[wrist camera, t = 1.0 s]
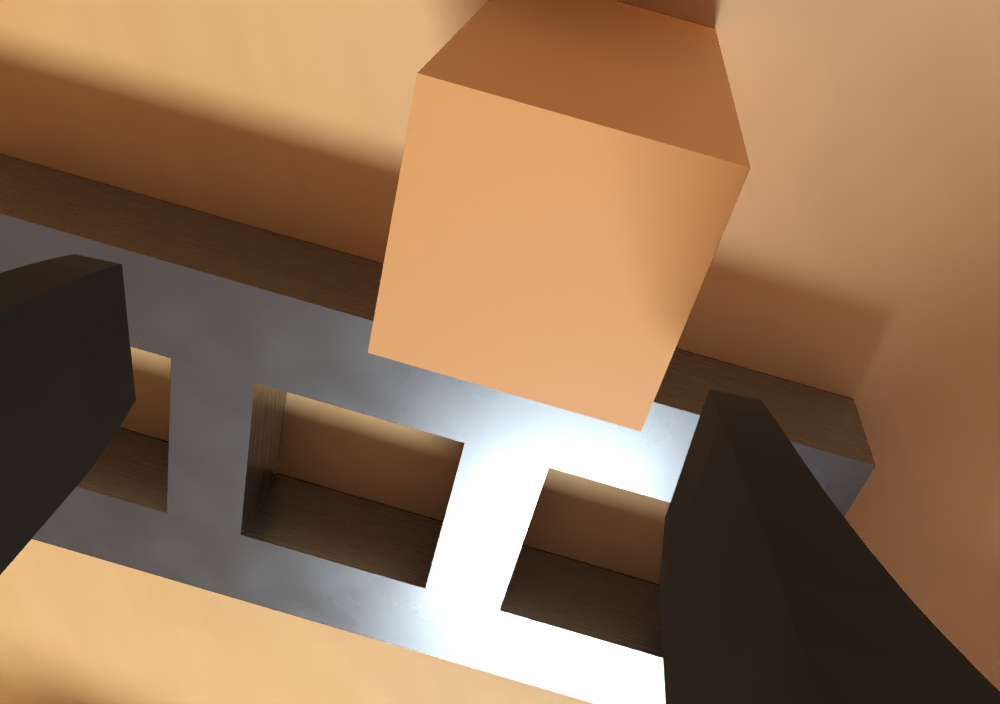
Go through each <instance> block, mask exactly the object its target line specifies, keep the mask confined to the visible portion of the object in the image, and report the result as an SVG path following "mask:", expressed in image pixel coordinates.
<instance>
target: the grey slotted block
mask: <svg viewBox="0 0 1000 704" xmlns="http://www.w3.org/2000/svg"><path fill="white" fill-rule="evenodd" d="M72 254H77V255H81V256H86V257H91V258H96V259H100V260H105V261H110V262H114V263H119V264H122V269H123V279H124V289H125V299H126V309H127V319H128V329H129V339H130V346H131V347H134V348H138V349H141V350H145V351H148V352H152V353H155V354H159V355H162V356H165V357H169V358H171V381H170V417H169V442H166V441H162V440H159V439H155V438H152V437H148V436H145V435H142V434H138V433H135V432H131V431H128V430H124V429H121V428H118V430H117V431H116V433H115V435H114V436H113V438H112V439H111V441H110V442H109V444H108V445H107V447H106V448H105V450H104V451H103V453H102V454H101V456H100V457H99V459H98V460H97V462H96V463H95V465H94V466H93V467H92V468H91V470H90V471H89V472H88V473H87V474H86V476H85V477H84V478H83V479H82V481H81V482H80V483H79V484H78V485H77V486H76V488H75V489H74V490H73V491H72V492H71V493H70V495H69V496H68V497H67V498H66V499H65V501H64V502H63V503H62V504H61V505H60V506H59V508H58V509H57V510H56V511H55V512H54V513H53V515H52V516H51V517H50V518H49V519H48V520H47V522H46V523H45V524H44V525H43V526H42V527H41V528H40V530H39V531H38V532H37V533H36V534H35V535H34V536H33V538H32V539H34V540H38V541H41V542H45V543H48V544H52V545H55V546H58V547H62V548H65V549H69V550H72V551H75V552H79V553H82V554H86V555H89V556H93V557H96V558H99V559H103V560H106V561H110V562H113V563H116V564H120V565H123V566H127V567H130V568H133V569H137V570H140V571H144V572H147V573H151V574H154V575H157V576H161V577H164V578H168V579H171V580H174V581H178V582H181V583H185V584H188V585H192V586H195V587H198V588H202V589H205V590H209V591H212V592H215V593H219V594H222V595H226V596H229V597H232V598H236V599H239V600H243V601H246V602H250V603H253V604H256V605H260V606H263V607H267V608H270V609H273V610H277V611H280V612H284V613H287V614H291V615H294V616H297V617H301V618H304V619H308V620H311V621H314V622H318V623H321V624H325V625H328V626H331V627H335V628H338V629H342V630H345V631H349V632H352V633H355V634H359V635H362V636H366V637H369V638H372V639H376V640H379V641H383V642H386V643H390V644H393V645H396V646H400V647H403V648H407V649H410V650H413V651H417V652H420V653H424V654H427V655H430V656H434V657H437V658H441V659H444V660H448V661H451V662H454V663H458V664H461V665H465V666H468V667H471V668H475V669H478V670H482V671H485V672H489V673H492V674H495V675H499V676H502V677H506V678H509V679H512V680H516V681H519V682H523V683H526V684H530V685H533V686H536V687H540V688H543V689H547V690H550V691H553V692H557V693H560V694H564V695H567V696H570V697H574V698H577V699H581V700H584V701H588V702H591V703H594V704H666V702H665V684H664V667H663V648H662V629H661V609H660V585H657V584H654V583H650V582H647V581H643V580H640V579H637V578H633V577H630V576H626V575H623V574H619V573H616V572H612V571H609V570H606V569H602V568H599V567H595V566H592V565H588V564H585V563H582V562H578V561H575V560H571V559H568V558H564V557H561V556H557V555H554V554H551V553H547V552H544V551H540V550H537V549H533V548H530V547H527V546H523V545H522V544H523V541H524V538H525V535H526V532H527V530H528V527H529V524H530V521H531V518H532V515H533V512H534V509H535V507H536V504H537V501H538V498H539V495H540V492H541V489H542V486H543V484H544V481H545V478H546V475H547V472H548V469H549V468H552V469H556V470H559V471H562V472H566V473H569V474H573V475H576V476H580V477H583V478H587V479H590V480H594V481H597V482H600V483H604V484H607V485H611V486H614V487H618V488H621V489H625V490H628V491H632V492H635V493H638V494H642V495H645V496H649V497H652V498H656V499H659V500H663V501H666V502H669V503H670V502H671V499H672V496H673V493H674V491H675V488H676V485H677V482H678V479H679V476H680V473H681V470H682V467H683V464H684V461H685V458H686V455H687V452H688V450H689V447H690V444H691V441H692V438H693V435H694V432H695V429H696V426H697V423H698V420H699V417H700V414H701V411H702V409H703V406H704V403H705V400H706V397H707V394H708V391H709V389H712V390H716V391H721V392H726V393H730V394H735V395H740V396H745V397H749V398H754V399H759V400H762V402H763V403H764V404H765V406H766V407H767V409H768V410H769V411H770V413H771V414H772V416H773V417H774V419H775V420H776V421H777V423H778V424H779V426H780V427H781V429H782V430H783V432H784V433H785V435H786V436H787V438H788V439H789V441H790V442H791V444H792V445H793V446H794V448H795V449H796V451H797V452H798V454H799V455H800V457H801V458H802V459H803V461H804V462H805V464H806V465H807V467H808V468H809V470H810V471H811V473H812V474H813V475H814V477H815V478H816V480H817V481H818V482H819V484H820V485H821V487H822V488H823V489H824V491H825V492H826V494H827V495H828V496H829V498H830V499H831V500H832V502H833V503H834V504H835V506H836V507H837V509H838V510H839V511H840V513H841V514H842V515H843V517H844V516H845V514H846V512H847V511H848V509H849V508H850V506H851V504H852V503H853V501H854V499H855V498H856V496H857V495H858V493H859V491H860V490H861V488H862V487H863V485H864V483H865V482H866V480H867V479H868V477H869V475H870V474H871V472H872V471H873V469H874V467H875V463H874V460H873V457H872V454H871V451H870V448H869V445H868V442H867V439H866V436H865V433H864V430H863V427H862V423H861V420H860V417H859V414H858V411H857V408H856V405H855V402H854V399H850V398H847V397H843V396H840V395H837V394H833V393H830V392H826V391H823V390H819V389H816V388H812V387H809V386H805V385H802V384H798V383H795V382H791V381H788V380H784V379H781V378H777V377H774V376H770V375H767V374H763V373H760V372H756V371H753V370H750V369H746V368H743V367H739V366H736V365H732V364H729V363H725V362H722V361H718V360H715V359H711V358H708V357H704V356H701V355H697V354H694V353H690V352H687V351H683V350H680V349H676V348H675V351H674V353H673V356H672V358H671V361H670V363H669V365H668V368H667V370H666V373H665V375H664V377H663V380H662V382H661V385H660V387H659V390H658V392H657V394H656V397H655V399H654V402H653V404H652V406H651V409H650V411H649V414H648V416H647V419H646V421H645V423H644V426H643V428H642V431H641V432H640V431H637V430H634V429H630V428H627V427H623V426H620V425H616V424H613V423H609V422H606V421H602V420H599V419H595V418H592V417H588V416H585V415H582V414H578V413H575V412H571V411H568V410H564V409H561V408H557V407H554V406H550V405H547V404H543V403H540V402H537V401H533V400H530V399H526V398H523V397H519V396H516V395H512V394H509V393H505V392H502V391H498V390H495V389H491V388H488V387H485V386H481V385H478V384H474V383H471V382H467V381H464V380H460V379H457V378H453V377H450V376H446V375H443V374H440V373H436V372H433V371H429V370H426V369H422V368H419V367H415V366H412V365H408V364H405V363H401V362H398V361H395V360H391V359H388V358H384V357H381V356H377V355H374V354H370V353H368V348H369V343H370V337H371V331H372V326H373V320H374V315H375V309H376V303H377V298H378V292H379V287H380V281H381V275H382V270H383V264H381V263H377V262H374V261H370V260H367V259H363V258H360V257H356V256H353V255H349V254H346V253H342V252H339V251H335V250H332V249H328V248H325V247H322V246H318V245H315V244H311V243H308V242H304V241H301V240H297V239H294V238H290V237H287V236H283V235H280V234H276V233H273V232H269V231H266V230H262V229H259V228H255V227H252V226H248V225H245V224H242V223H238V222H235V221H231V220H228V219H224V218H221V217H217V216H214V215H210V214H207V213H203V212H200V211H196V210H193V209H189V208H186V207H182V206H179V205H175V204H172V203H168V202H165V201H161V200H158V199H155V198H151V197H148V196H144V195H141V194H137V193H134V192H130V191H127V190H123V189H120V188H116V187H113V186H109V185H106V184H102V183H99V182H95V181H92V180H88V179H85V178H81V177H78V176H74V175H71V174H68V173H64V172H61V171H57V170H54V169H50V168H47V167H43V166H40V165H36V164H33V163H29V162H26V161H22V160H19V159H15V158H12V157H8V156H5V155H1V154H0V273H1V272H5V271H8V270H11V269H15V268H18V267H22V266H25V265H29V264H33V263H36V262H40V261H44V260H48V259H52V258H57V257H62V256H67V255H72ZM286 392H290V393H293V394H297V395H300V396H304V397H307V398H310V399H314V400H317V401H321V402H324V403H328V404H331V405H335V406H338V407H342V408H345V409H348V410H352V411H355V412H359V413H362V414H366V415H369V416H373V417H376V418H380V419H383V420H386V421H390V422H393V423H397V424H400V425H404V426H407V427H411V428H414V429H417V430H421V431H424V432H428V433H431V434H435V435H438V436H442V437H445V438H449V439H452V440H455V441H459V442H462V443H465V444H464V448H463V451H462V455H461V459H460V462H459V466H458V470H457V473H456V477H455V481H454V484H453V488H452V492H451V496H450V499H449V503H448V507H447V510H446V514H445V518H444V521H443V522H441V521H437V520H434V519H430V518H427V517H423V516H420V515H417V514H413V513H410V512H406V511H403V510H399V509H396V508H392V507H389V506H386V505H382V504H379V503H375V502H372V501H368V500H365V499H362V498H358V497H355V496H351V495H348V494H344V493H341V492H337V491H334V490H331V489H327V488H324V487H320V486H317V485H313V484H310V483H307V482H303V481H300V480H296V479H293V478H289V477H286V476H282V475H279V474H277V467H278V459H279V450H280V442H281V434H282V425H283V417H284V408H285V400H286Z"/></svg>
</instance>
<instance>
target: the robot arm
mask: <svg viewBox="0 0 1000 704" xmlns="http://www.w3.org/2000/svg"><path fill="white" fill-rule="evenodd" d="M135 400H136V399H135V389H134V379H133V369H132V359H131V349H130V339H129V329H128V319H127V309H126V299H125V289H124V279H123V269H122V264H119V263H114V262H110V261H105V260H100V259H96V258H91V257H86V256H81V255H77V254H72V255H67V256H62V257H57V258H52V259H48V260H44V261H40V262H36V263H33V264H29V265H25V266H22V267H18V268H15V269H11V270H8V271H5V272H1V273H0V574H1V573H2V572H3V571H4V570H5V569H6V568H7V566H8V565H9V564H10V563H11V562H12V561H13V559H14V558H15V557H16V556H17V555H18V554H19V553H20V551H21V550H22V549H23V548H24V547H25V546H26V545H27V543H28V542H29V541H30V540H31V539H32V538H33V536H34V535H35V534H36V533H37V532H38V531H39V530H40V528H41V527H42V526H43V525H44V524H45V523H46V522H47V520H48V519H49V518H50V517H51V516H52V515H53V513H54V512H55V511H56V510H57V509H58V508H59V506H60V505H61V504H62V503H63V502H64V501H65V499H66V498H67V497H68V496H69V495H70V493H71V492H72V491H73V490H74V489H75V488H76V486H77V485H78V484H79V483H80V482H81V481H82V479H83V478H84V477H85V476H86V474H87V473H88V472H89V471H90V470H91V468H92V467H93V466H94V465H95V463H96V462H97V460H98V459H99V457H100V456H101V454H102V453H103V451H104V450H105V448H106V447H107V445H108V444H109V442H110V441H111V439H112V438H113V436H114V435H115V433H116V431H117V430H118V428H119V426H120V425H121V423H122V421H123V420H124V418H125V417H126V415H127V413H128V412H129V410H130V408H131V407H132V405H133V403H134V402H135ZM660 609H661V629H662V648H663V667H664V684H665V702H666V704H1000V691H998V690H997V689H996V688H995V687H994V686H993V685H992V684H991V683H990V682H989V681H988V680H987V679H986V678H985V677H984V676H983V675H982V674H981V673H980V672H979V671H978V670H977V669H976V668H975V667H974V666H973V665H972V664H971V663H970V662H969V661H968V660H967V659H966V657H965V656H964V655H963V654H962V653H961V652H960V651H959V650H958V649H957V648H956V647H955V646H954V645H953V644H952V643H951V642H950V641H949V640H948V639H947V638H946V637H945V636H944V635H943V634H942V633H941V632H940V631H939V630H938V629H937V628H936V627H935V626H934V624H933V623H932V622H931V621H930V620H929V619H928V618H927V617H926V616H925V615H924V613H923V612H922V611H921V610H920V609H919V608H918V607H917V606H916V605H915V604H914V602H913V601H912V600H911V599H910V598H909V597H908V596H907V594H906V593H905V592H904V591H903V590H902V588H901V587H900V586H899V585H898V584H897V582H896V581H895V580H894V579H893V578H892V576H891V575H890V574H889V573H888V572H887V570H886V569H885V568H884V567H883V566H882V565H881V563H880V562H879V561H878V560H877V559H876V557H875V556H874V555H873V554H872V553H871V551H870V550H869V549H868V548H867V546H866V545H865V544H864V542H863V541H862V540H861V539H860V537H859V536H858V535H857V533H856V532H855V531H854V530H853V528H852V527H851V526H850V524H849V523H848V522H847V520H846V519H845V518H844V517H843V515H842V514H841V513H840V511H839V510H838V509H837V507H836V506H835V504H834V503H833V502H832V500H831V499H830V498H829V496H828V495H827V494H826V492H825V491H824V489H823V488H822V487H821V485H820V484H819V482H818V481H817V480H816V478H815V477H814V475H813V474H812V473H811V471H810V470H809V468H808V467H807V465H806V464H805V462H804V461H803V459H802V458H801V457H800V455H799V454H798V452H797V451H796V449H795V448H794V446H793V445H792V444H791V442H790V441H789V439H788V438H787V436H786V435H785V433H784V432H783V430H782V429H781V427H780V426H779V424H778V423H777V421H776V420H775V419H774V417H773V416H772V414H771V413H770V411H769V410H768V409H767V407H766V406H765V404H764V403H763V402H762V400H759V399H754V398H749V397H745V396H740V395H735V394H730V393H726V392H721V391H716V390H712V389H709V391H708V394H707V397H706V400H705V403H704V406H703V409H702V411H701V414H700V417H699V420H698V423H697V426H696V429H695V432H694V435H693V438H692V441H691V444H690V447H689V450H688V452H687V455H686V458H685V461H684V464H683V467H682V470H681V473H680V476H679V479H678V482H677V485H676V488H675V491H674V493H673V496H672V499H671V502H670V505H669V508H668V511H667V514H666V517H665V528H664V540H663V552H662V566H661V581H660Z"/></svg>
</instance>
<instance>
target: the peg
mask: <svg viewBox="0 0 1000 704" xmlns="http://www.w3.org/2000/svg"><path fill="white" fill-rule="evenodd" d="M749 169H750V165H749V161H748V157H747V153H746V149H745V145H744V141H743V137H742V133H741V129H740V125H739V121H738V117H737V113H736V109H735V105H734V101H733V97H732V93H731V90H730V86H729V82H728V78H727V74H726V70H725V66H724V62H723V58H722V54H721V50H720V46H719V42H718V38H717V34H716V30H715V29H714V28H711V27H707V26H704V25H700V24H697V23H693V22H689V21H686V20H682V19H679V18H675V17H672V16H668V15H665V14H661V13H658V12H654V11H651V10H647V9H643V8H640V7H636V6H633V5H629V4H626V3H622V2H619V1H615V0H489V1H488V2H487V3H486V4H485V5H484V6H483V7H482V8H481V9H480V10H479V11H478V12H477V13H476V14H475V15H474V16H473V17H472V18H471V19H470V20H469V21H468V22H467V23H466V24H465V25H464V26H463V27H462V28H461V29H460V30H459V31H458V32H457V33H456V34H455V35H454V37H453V38H452V39H451V40H450V41H449V42H448V43H447V44H446V45H445V46H444V47H443V48H442V49H441V50H440V51H439V52H438V53H437V54H436V55H435V56H434V57H433V58H432V59H431V60H430V61H429V62H428V63H427V64H426V65H425V66H424V67H423V68H422V69H421V70H420V71H419V72H418V74H417V79H416V85H415V90H414V96H413V102H412V107H411V113H410V118H409V124H408V130H407V135H406V141H405V146H404V152H403V158H402V163H401V169H400V174H399V180H398V186H397V191H396V197H395V202H394V208H393V214H392V219H391V225H390V230H389V236H388V242H387V247H386V253H385V259H384V264H383V270H382V275H381V281H380V287H379V292H378V298H377V303H376V309H375V315H374V320H373V326H372V331H371V337H370V343H369V348H368V353H370V354H374V355H377V356H381V357H384V358H388V359H391V360H395V361H398V362H401V363H405V364H408V365H412V366H415V367H419V368H422V369H426V370H429V371H433V372H436V373H440V374H443V375H446V376H450V377H453V378H457V379H460V380H464V381H467V382H471V383H474V384H478V385H481V386H485V387H488V388H491V389H495V390H498V391H502V392H505V393H509V394H512V395H516V396H519V397H523V398H526V399H530V400H533V401H537V402H540V403H543V404H547V405H550V406H554V407H557V408H561V409H564V410H568V411H571V412H575V413H578V414H582V415H585V416H588V417H592V418H595V419H599V420H602V421H606V422H609V423H613V424H616V425H620V426H623V427H627V428H630V429H634V430H637V431H640V432H641V431H642V428H643V426H644V423H645V421H646V419H647V416H648V414H649V411H650V409H651V406H652V404H653V402H654V399H655V397H656V394H657V392H658V390H659V387H660V385H661V382H662V380H663V377H664V375H665V373H666V370H667V368H668V365H669V363H670V361H671V358H672V356H673V353H674V351H675V348H676V346H677V344H678V341H679V339H680V336H681V334H682V331H683V329H684V327H685V324H686V322H687V319H688V317H689V315H690V312H691V310H692V307H693V305H694V302H695V300H696V298H697V295H698V293H699V290H700V288H701V285H702V283H703V281H704V278H705V276H706V273H707V271H708V269H709V266H710V264H711V261H712V259H713V256H714V254H715V252H716V249H717V247H718V244H719V242H720V239H721V237H722V235H723V232H724V230H725V227H726V225H727V223H728V220H729V218H730V215H731V213H732V210H733V208H734V206H735V203H736V201H737V198H738V196H739V194H740V191H741V189H742V186H743V184H744V181H745V179H746V177H747V174H748V172H749Z"/></svg>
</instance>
